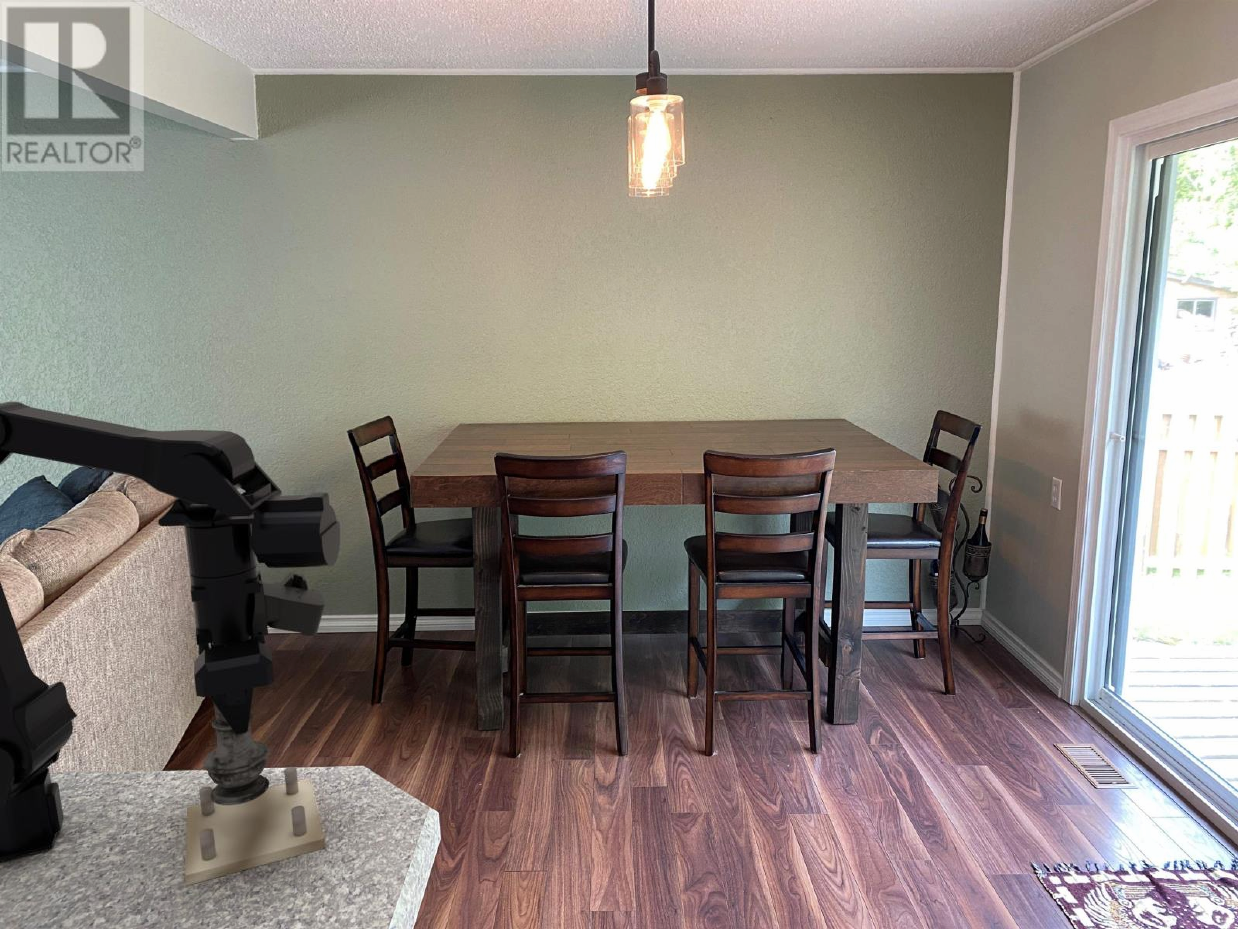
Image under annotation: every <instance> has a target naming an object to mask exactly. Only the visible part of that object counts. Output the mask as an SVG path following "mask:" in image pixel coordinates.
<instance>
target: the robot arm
mask: <svg viewBox="0 0 1238 929" xmlns="http://www.w3.org/2000/svg"><path fill="white" fill-rule="evenodd" d="M13 454H17V455H21V456H22V455H23V456H26V457H33V458H38V459H42V460H47V461H53V462H58V463H63V464H68V465H73V466H78V467H84V468H91V469H95V470H99V471H105V472H111V473H116V474H119V475H120V474H121V475H127V476H130V477H133V478H135V479H138V480H141V481H142V482H143V483H145V484H147V485H148V486H149V487H151V488H152V489H154V490H155V491H157V492H160V493H162V494H165V495H168V496H170V497H174V498H176V499H175V500H174V501H173V503H172V505H171V507H170V508H169V509H168V510H167V511H166V512H165V513H164V514H163V516H161V517H160V518H159V519H158V520H157V524H158V525H159V526H160V527H183V528H184V536H185V544H186V552H187V553H186V554H187V560H188V561H187V563H188V569H189V579H190V598H191V602H192V603H193V604H192V605H193V612H194V613H193V614H194V621H195V622H194V623H195V639H196V646H198V656H197V658H196V659H195V660H194V664H193V666H194V667H193V673H194V674H193V677H194V678H193V679H194V685H195V694H196V697H200V698H207V697H209V699H210V700H211V702H212V703H213V705H214V704H215V705H216V707H217V708H218V710H219V711H220V712H221V714H222V715H223V717H224V718H225V720H226V721H227V723H228V724H229V726H230V727H231V729H232V730H233V731H234V733H235V734H242V733H246V732H247V731H248V727H249V719H250V713H251V711H252V703H253V697H254V690H255V688H260V687H264V686H265V687H266V686H269V685H272V683H275V673H274V666H273V665H274V663H273V656H272V653H271V648H270V647H268V646H267V645H266V637H265V636H269V628H271V629H274V630H280V631H281V630H282V631H285V632H286V631H288V632H292V633H293V632H294V633H300V634H301V635H302V636H308V637H315V636H317V634H318V630H319V627H320V624H321V620H322V616H323V614H324V609H325V606H326V602H325V600H324V598H323V595H322V594H321V593H320V592H319V591H317V589H315V588H311V589H309V586H308V583H307V580H306V577H305V574H303V573H298V572H297V573H296V572H289V573H288V574H286V576H285V577H284V578H283V579H282V580H281V581H280V583H279V582H276V581H275V582H274V583H273V584H271V583H264V581H263V580H262V573H261V571H260V570H258V564H264V565H265V566H266V567H267V568H269V569H286V568H287V569H289V568H321V567H322V568H324V567H325V568H326V567H327V568H328V567H329V568H330V567H333V566H335V564H336V562H337V560H338V557H339V553H340V546H341V526H340V524H341V523H340V521H339V520H337V515H336V511H335V510H334V507H333V506H332V505H330V496H329V493H327V492H312V493H309V494H303V495H302V494H301V495H299V494H297V495H283V492H282V490H281V489H280V488H279V487H278V485H277V484H276V483H275V482H274V481H273V480H272V479H271V477H270V476H269V475H268V474H267V473H266V472H265V471H264V469H262V467H261V466H260V465H259V464H258V463H257V462H256V461H255V455H254V453H253V451H252V448H251V447H250V445H249V444H248V443H247V442H246V439H245V437H243V436H241V435H240V434H238V433H235V432H233V431H230V430H229V431H228V430H212V429H211V430H210V429H208V430H207V429H203V430H202V429H186V430H183V429H182V430H149V429H144V428H138V427H133V426H130V425H129V426H128V425H123V424H118V423H113V422H107V421H103V420H99V419H98V420H97V419H93V418H90V417H89V418H88V417H83V416H78V415H72V414H68V413H62V412H56V411H52V410H49V409H48V410H47V409H42V408H37V407H31V406H29V405H27V404H25V403H22V402H19V401H5V402H4V401H3V402H0V466H1V465H3V464H4V463H5V462H6V461H7V460H8V459H9V458H10V457H12V456H13ZM238 489H241V490H243V491H244V492H242V493H241V492H240V491H239V490H238ZM257 563H258V564H257ZM26 654H27V653H26V651H25V649H24V646H23V643H22V640H21V637H20V634H19V631H18V629H17V625H16V623H15V619H14V617H13V615H12V612H11V608H10V605H9V603H8V600H7V596H6V593H5V590H4V588H3V586H2V582H1V581H0V862H3V861H7V860H11V859H15V858H20V857H24V856H27V855H32V854H36V853H40V852H44V851H49V850H50V849H52V848H53V847H54V844H55V841H56V838H57V833H58V834H59V832H60V831H61V830H62V825H63V823H64V822H63V821H64V818H65V817H64V811H63V805H62V799H61V793H60V786H59V783H58V782H56V781H54V782H52V781H51V780H52V779H51V778H52V777H51V774H50V768H49V767H50V766H51V765H52V764H55V763H56V762H57V761H58V760H59V758H60V754H61V750H62V748H63V747H64V746H66V745H67V743H68V741H69V740H70V738H71V736H72V735H73V731H74V725H73V720H74V719H75V718H77V716H78V714H77V713H76V712H75V711H74V709H72V706H71V705H70V702H69V700H68V693H67V688H66V686H65V684H64V682H63V681H57V682H55V683H52V684H48V683H46V682H45V680H43V679H42V678H40V677H38V676H37V675H36V674H35V673H34V672H33V670H32V668H31V666H30V663H29V660H28V657H27V655H26Z"/></svg>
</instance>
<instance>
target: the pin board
mask: <svg viewBox="0 0 1238 929" xmlns="http://www.w3.org/2000/svg"><path fill="white" fill-rule="evenodd" d="M283 772H284V773H283V774H284V783H283V784H280V785H275V786H269V787H268V789H267V790H266V791H265V793H263V794H262V795H261V796H259V797H257V798H256V799H254V800H251V801H249V802H246V803H242V804H238V805H219V804H216V803H214V802H213V801H212V800H211V792H212V790H213V787H212V786H210V785H209V786H208V785H207V786H204V787H202V788H200V789H198V792H199V793H198V794H199V795H198V796H199V801H200V804H196V805H192V806H187V807H186V818H185V819H186V822H185V823H186V826H185V827H186V828H185V830H186V831H185V854H184V855H185V857H184V858H185V860H184V861H185V862H184V865H185V866H184V878H185V885H186V886H189V885H193V884H197V883H201V882H205V881H208V880H212V879H216V878H219V877H223V876H227V875H230V874H234V873H238V872H241V871H244V870H248V869H252V868H256V867H259V866H260V867H261V866H263V865H267V864H270V863H274V862H278V861H281V860H285V859H289V858H292V857H296V856H300V855H303V854H307V853H312V852H314V851H315V852H316V851H319V850H322V849H323V850H324V849H325V848H326V841H325V840H326V839H325V835H324V831H323V826H322V821H321V817H320V813H319V807H318V804H317V800H316V796H315V792H314V787H313V782H312V779H311V777H308V778H304V779H301V780H298V772H297V767H296V766H289V767H286V768H285V769H284V771H283Z"/></svg>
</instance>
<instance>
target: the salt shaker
mask: <svg viewBox="0 0 1238 929" xmlns="http://www.w3.org/2000/svg"><path fill="white" fill-rule="evenodd" d="M213 707H214V715H215V718H214V719H213V720H212V722H211V726H212V728H214V729H215V731H216V739H217V740H216V741H217V743H216V744H217V745H216V749H215V750H213V751H212V752H210V753H209V754H207V755H206V757H204V760H203V762H202V764H203V766H202V767H203V769H205V771H207V775H208V776H209V778H210V779H211V780H212V782H213V783H214V784H216V786H215V787H214V788H212V792H211V800H212V801H213V802H214V803H216V804H219V805H238V804H242V803H246V802H249V801H251V800H254V799H256V798H257V797H259V796H261V795H262V794H263V793H265V791H266V790H267V789H268V788H270V781H269V778H267V776H264V775H263V774H262V773H263V772H264V770H265V766H266V763H267V757H268V756H269V754H270V749H269V747H268V746H267V745H266V744H265V743H263V742H261V741H255V740H254V739H253V736H252V732H251V730H252V729H251V723H250V722H252V720H253V718H254V717H253V714H252V713H251V712H250V719H249V727H248V731H247V732H246V733H242V734H235V733H234V731H233V730H232V729H231V727H230V726H229V724H228V723H227V721H226V720H225V718H224V717H223V715H222V714H221V712H220V711H219V710H218V708H217V707H216V705H215V704H214V703H213Z"/></svg>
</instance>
